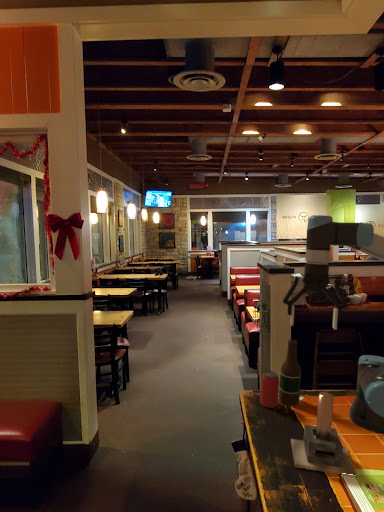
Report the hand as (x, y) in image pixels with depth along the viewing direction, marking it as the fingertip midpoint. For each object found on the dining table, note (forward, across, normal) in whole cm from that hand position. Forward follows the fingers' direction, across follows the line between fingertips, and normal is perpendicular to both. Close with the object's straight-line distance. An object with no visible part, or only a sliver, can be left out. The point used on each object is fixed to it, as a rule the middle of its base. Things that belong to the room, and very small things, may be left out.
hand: (312, 326), depth 115 cm
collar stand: (+35, -2, +16) cm, 38 cm away
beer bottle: (+35, +4, -18) cm, 39 cm away
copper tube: (+34, -2, +16) cm, 37 cm away
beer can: (+35, +12, -13) cm, 39 cm away
